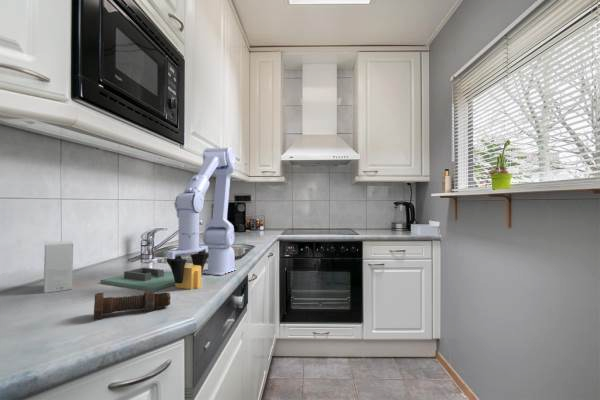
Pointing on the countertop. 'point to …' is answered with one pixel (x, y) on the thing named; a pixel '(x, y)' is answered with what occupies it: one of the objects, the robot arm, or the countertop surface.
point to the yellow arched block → (191, 277)
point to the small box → (58, 266)
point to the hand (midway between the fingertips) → (188, 280)
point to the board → (143, 279)
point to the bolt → (129, 303)
